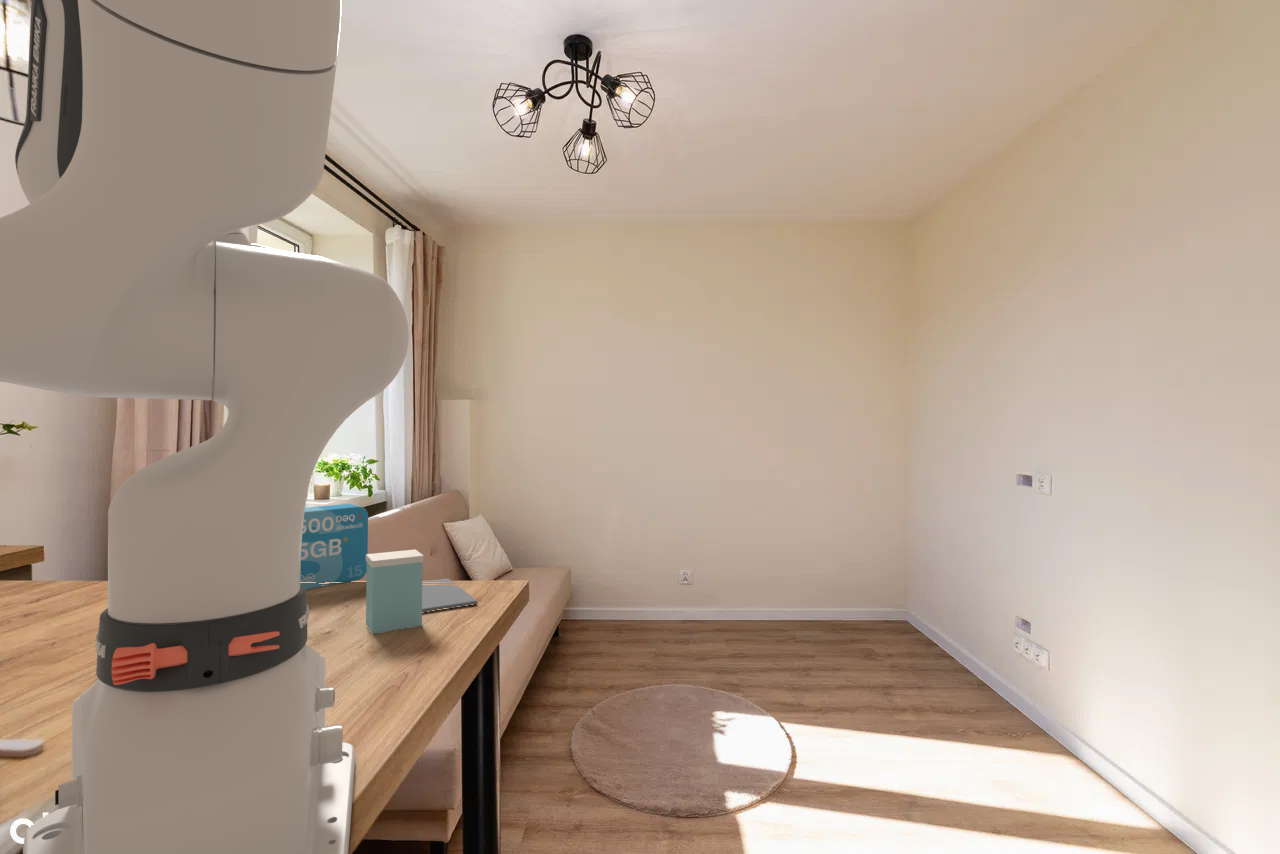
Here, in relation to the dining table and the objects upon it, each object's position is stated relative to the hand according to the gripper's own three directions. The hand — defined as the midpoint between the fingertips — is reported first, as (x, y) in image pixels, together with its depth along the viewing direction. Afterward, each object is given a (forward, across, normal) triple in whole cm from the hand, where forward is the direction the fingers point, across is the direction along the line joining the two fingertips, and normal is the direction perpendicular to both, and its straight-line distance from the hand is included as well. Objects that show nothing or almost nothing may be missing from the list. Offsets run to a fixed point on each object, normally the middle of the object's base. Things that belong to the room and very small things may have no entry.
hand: (289, 389), depth 72 cm
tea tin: (+32, -2, +5) cm, 32 cm away
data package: (+29, +10, +28) cm, 41 cm away
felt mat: (+34, +9, +10) cm, 37 cm away
